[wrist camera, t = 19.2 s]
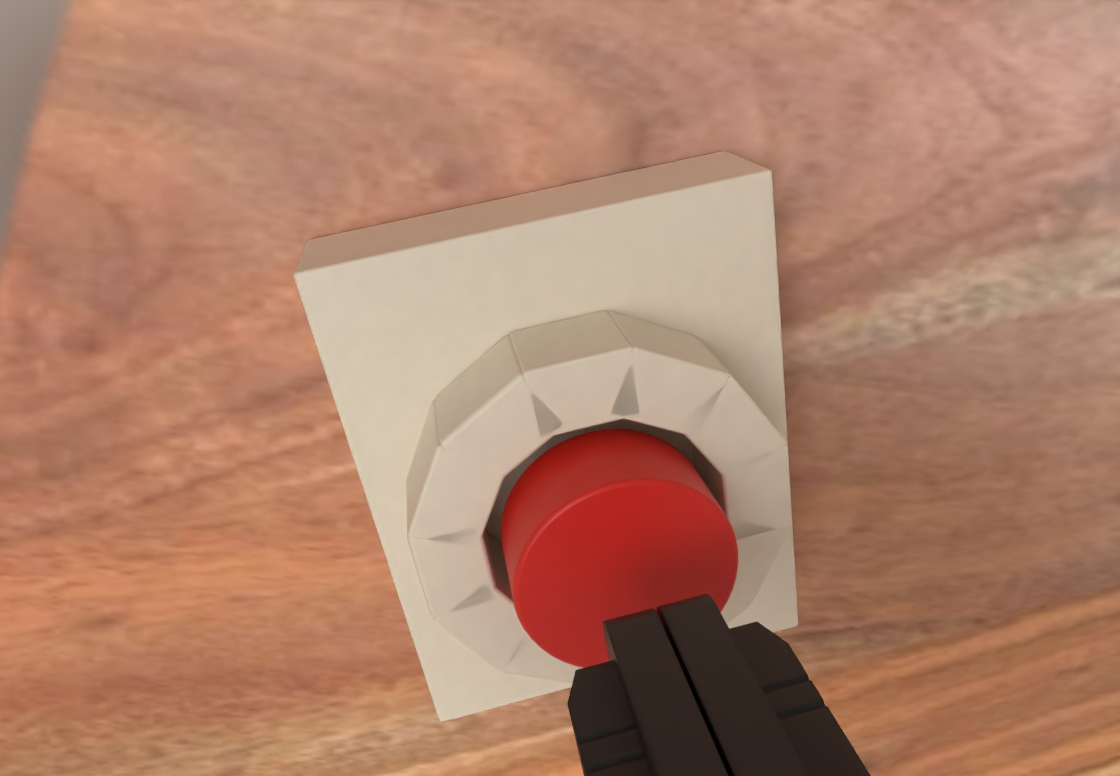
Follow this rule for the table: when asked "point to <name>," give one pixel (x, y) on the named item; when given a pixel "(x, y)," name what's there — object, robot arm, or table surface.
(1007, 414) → the table surface
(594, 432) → the button
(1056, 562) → the table surface
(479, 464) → the button block
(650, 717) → the robot arm
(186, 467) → the table surface
